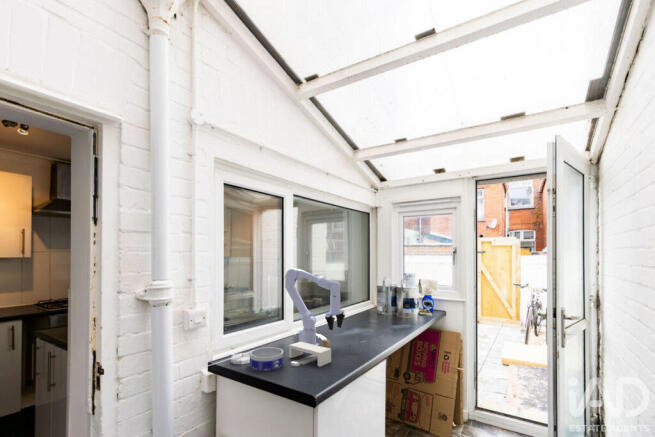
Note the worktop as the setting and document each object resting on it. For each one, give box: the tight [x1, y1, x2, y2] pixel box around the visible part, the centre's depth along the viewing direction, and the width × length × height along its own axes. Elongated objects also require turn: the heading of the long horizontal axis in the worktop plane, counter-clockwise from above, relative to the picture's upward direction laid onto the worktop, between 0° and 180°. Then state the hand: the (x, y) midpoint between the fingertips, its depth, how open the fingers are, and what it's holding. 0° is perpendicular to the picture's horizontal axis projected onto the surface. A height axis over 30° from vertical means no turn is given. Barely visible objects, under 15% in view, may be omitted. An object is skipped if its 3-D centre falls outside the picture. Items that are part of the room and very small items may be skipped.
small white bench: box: [288, 341, 332, 367], centre depth 156 cm, size 20×8×6 cm, turn 51°
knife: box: [316, 333, 328, 341], centre depth 200 cm, size 30×2×8 cm
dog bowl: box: [249, 346, 284, 372], centre depth 149 cm, size 15×15×6 cm
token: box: [290, 360, 301, 368], centre depth 148 cm, size 4×4×2 cm
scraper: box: [296, 339, 332, 366], centre depth 158 cm, size 5×21×6 cm, turn 141°
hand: (335, 328), depth 179 cm, fingers open, 7 cm apart
